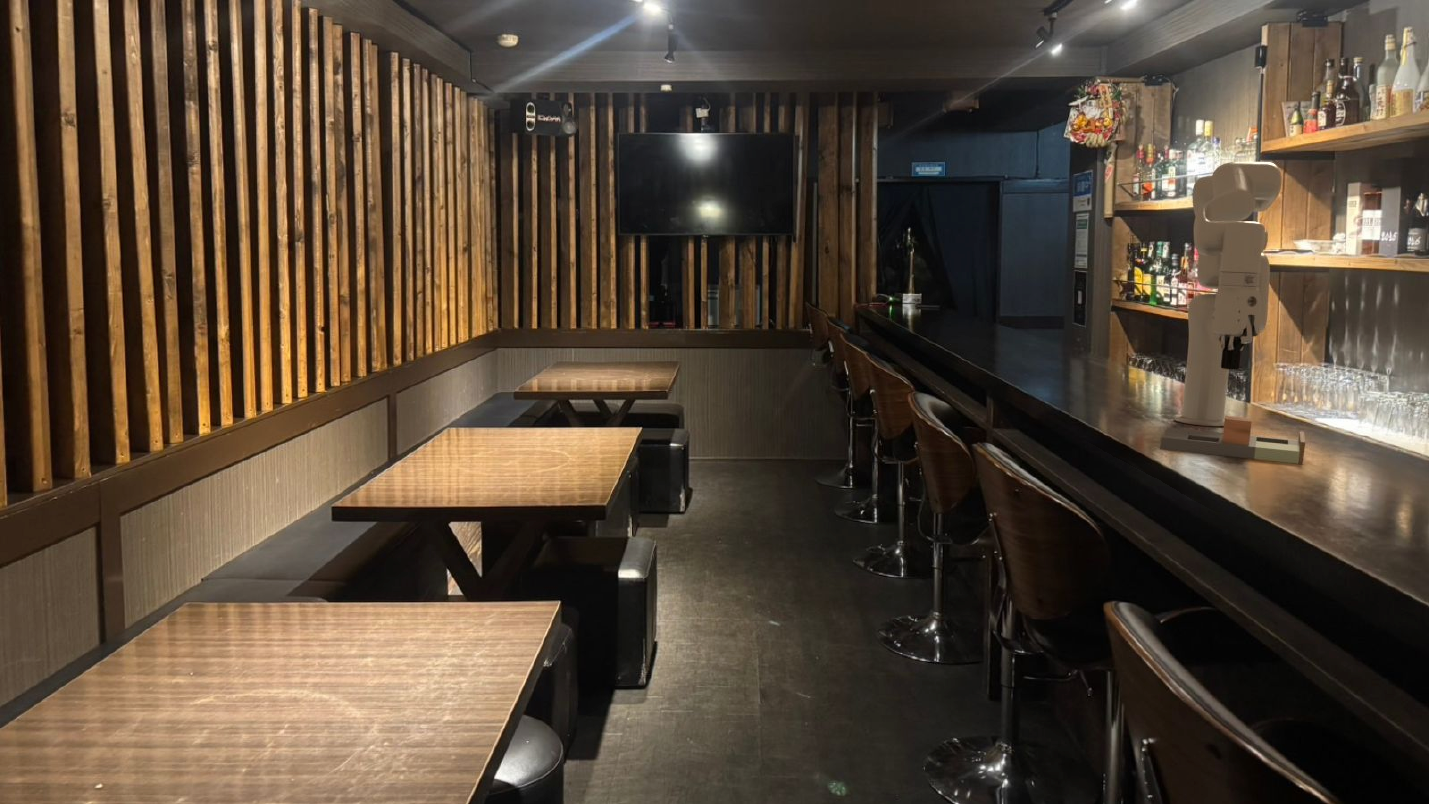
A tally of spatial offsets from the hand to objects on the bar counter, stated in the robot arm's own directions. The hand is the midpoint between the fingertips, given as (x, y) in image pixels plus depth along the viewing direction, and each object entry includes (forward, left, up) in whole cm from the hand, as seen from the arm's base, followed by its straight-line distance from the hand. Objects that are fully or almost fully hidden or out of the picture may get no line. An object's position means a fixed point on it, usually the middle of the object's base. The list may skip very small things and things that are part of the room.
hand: (1229, 368), depth 234 cm
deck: (0, +1, -17) cm, 17 cm away
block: (+4, +3, -15) cm, 16 cm away
